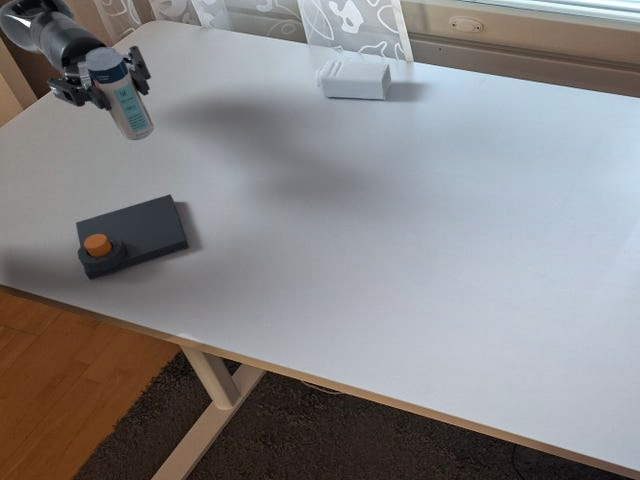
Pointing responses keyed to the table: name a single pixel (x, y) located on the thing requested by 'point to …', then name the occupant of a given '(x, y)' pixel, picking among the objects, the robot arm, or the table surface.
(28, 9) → the robot arm
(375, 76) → the white bottle
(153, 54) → the table surface
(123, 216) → the scale
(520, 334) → the table surface
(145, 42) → the table surface
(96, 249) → the button
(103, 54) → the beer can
